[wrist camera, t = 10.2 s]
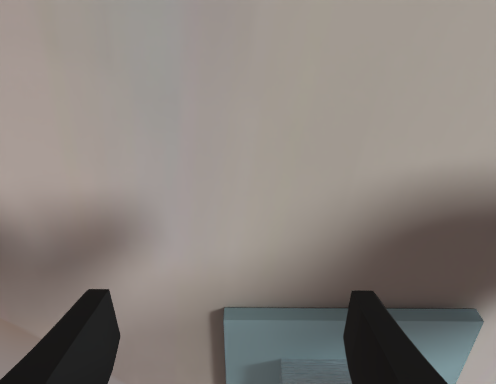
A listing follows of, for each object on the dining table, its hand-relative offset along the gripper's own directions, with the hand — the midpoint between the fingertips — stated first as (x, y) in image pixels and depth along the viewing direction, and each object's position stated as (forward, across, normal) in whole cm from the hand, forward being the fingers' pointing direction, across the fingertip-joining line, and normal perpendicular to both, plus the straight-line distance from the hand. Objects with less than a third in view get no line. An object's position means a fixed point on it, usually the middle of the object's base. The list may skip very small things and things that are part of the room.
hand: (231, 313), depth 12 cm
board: (+9, -7, +18) cm, 21 cm away
